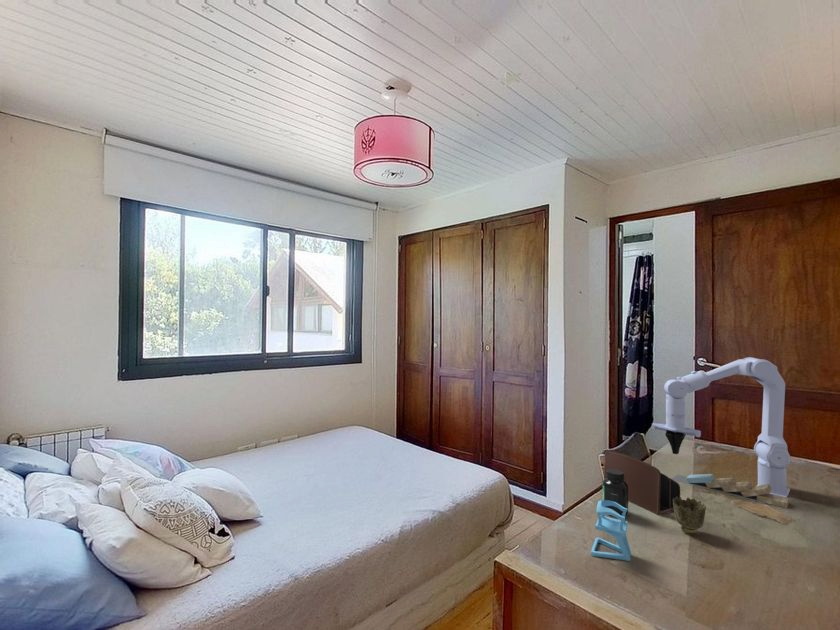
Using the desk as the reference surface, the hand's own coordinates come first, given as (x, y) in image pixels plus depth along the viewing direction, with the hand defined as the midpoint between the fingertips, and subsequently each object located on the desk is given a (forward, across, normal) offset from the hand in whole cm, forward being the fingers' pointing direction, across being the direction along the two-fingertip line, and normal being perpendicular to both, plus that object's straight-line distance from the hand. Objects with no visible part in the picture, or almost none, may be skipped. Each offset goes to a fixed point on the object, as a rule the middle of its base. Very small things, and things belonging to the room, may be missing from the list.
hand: (675, 453), depth 143 cm
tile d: (+9, +22, +3) cm, 24 cm away
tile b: (+9, +13, +3) cm, 16 cm away
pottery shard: (+11, +24, -8) cm, 27 cm away
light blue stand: (+10, +3, -61) cm, 62 cm away
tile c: (+9, +18, +3) cm, 21 cm away
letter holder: (+10, -4, -24) cm, 26 cm away
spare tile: (+9, +3, +3) cm, 10 cm away
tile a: (+9, +9, +3) cm, 13 cm away
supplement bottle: (+10, -5, -39) cm, 41 cm away
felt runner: (+10, +12, +4) cm, 16 cm away
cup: (+10, +13, -36) cm, 40 cm away
